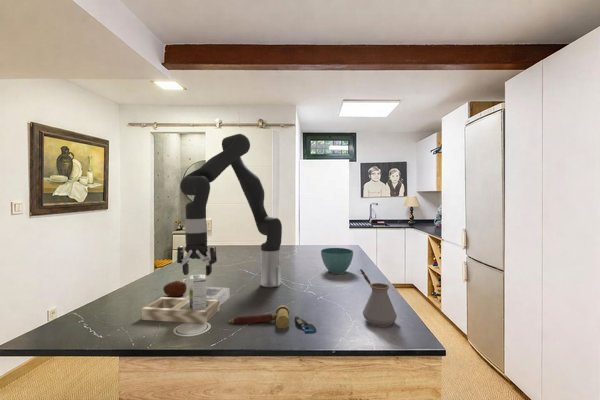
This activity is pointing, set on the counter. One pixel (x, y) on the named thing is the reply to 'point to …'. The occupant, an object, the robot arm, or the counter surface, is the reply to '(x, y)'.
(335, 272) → the teal bowl
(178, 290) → the potato
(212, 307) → the rack
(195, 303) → the syrup box
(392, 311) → the coffee pot
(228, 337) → the counter surface
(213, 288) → the socket block
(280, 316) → the gavel
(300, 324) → the micrometer
